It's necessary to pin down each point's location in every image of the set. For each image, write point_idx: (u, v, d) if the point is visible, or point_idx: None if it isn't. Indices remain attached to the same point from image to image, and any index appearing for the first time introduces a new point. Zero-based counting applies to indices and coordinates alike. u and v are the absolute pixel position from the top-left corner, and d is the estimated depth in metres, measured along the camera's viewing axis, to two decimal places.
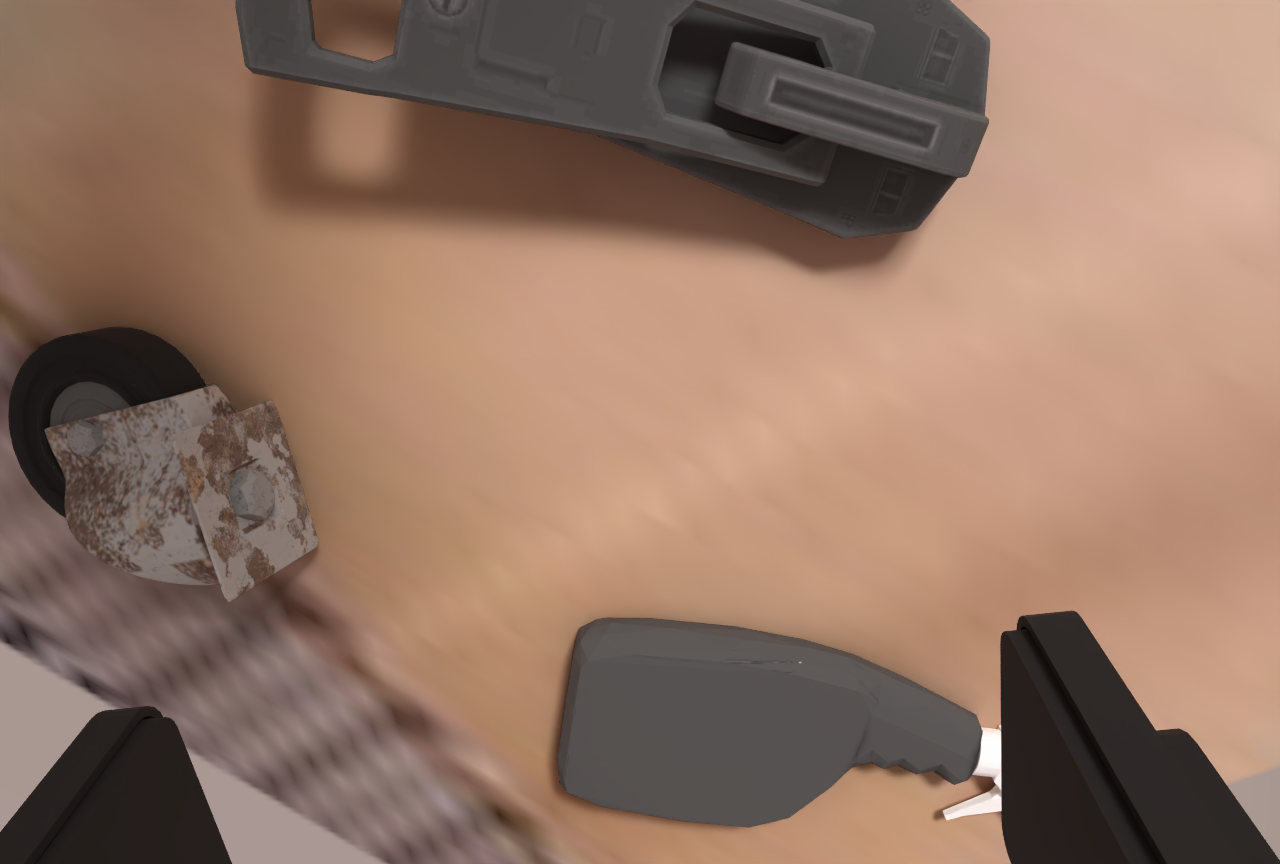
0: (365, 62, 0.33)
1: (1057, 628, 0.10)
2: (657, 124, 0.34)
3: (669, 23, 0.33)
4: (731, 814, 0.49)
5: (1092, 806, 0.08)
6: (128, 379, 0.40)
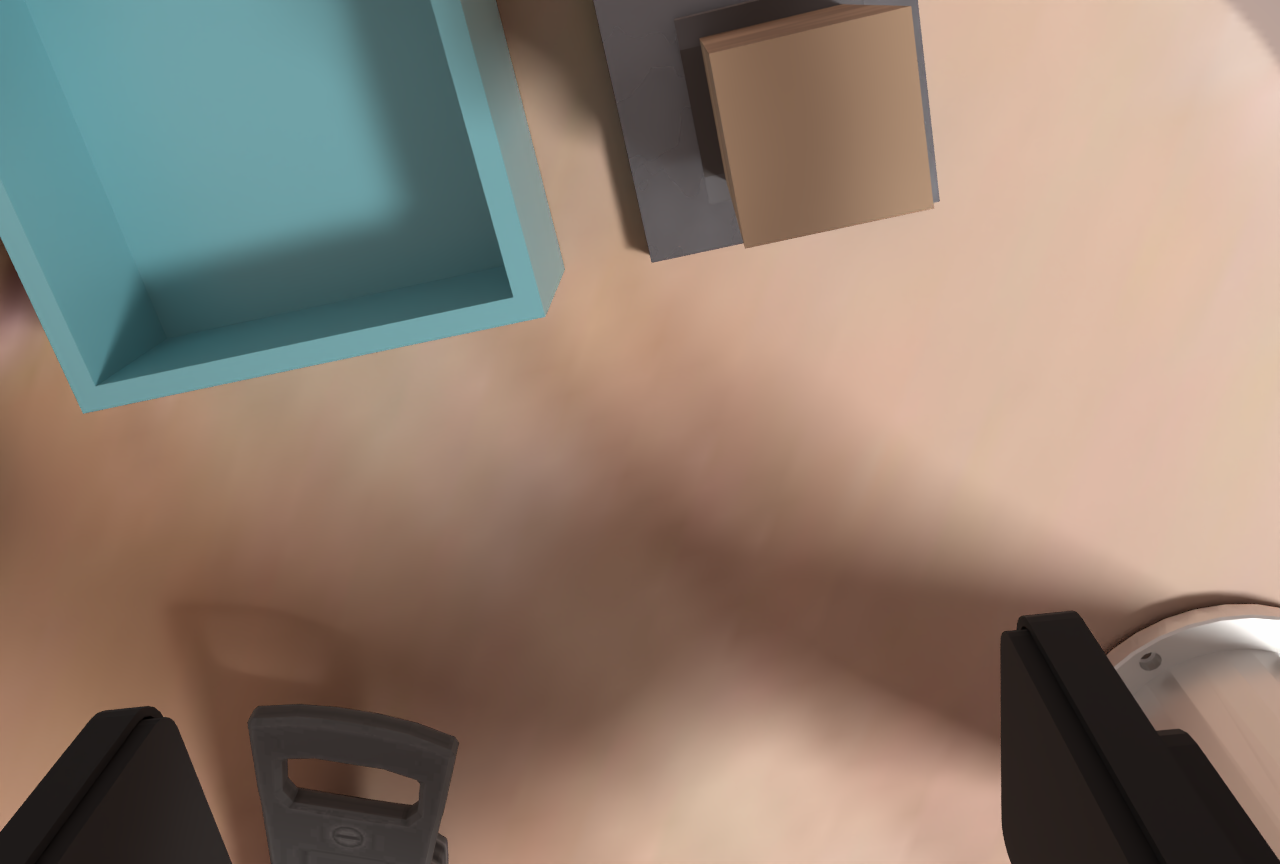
0: (282, 785, 0.39)
1: (1057, 628, 0.10)
2: None
3: None
4: None
5: (1092, 806, 0.08)
6: None
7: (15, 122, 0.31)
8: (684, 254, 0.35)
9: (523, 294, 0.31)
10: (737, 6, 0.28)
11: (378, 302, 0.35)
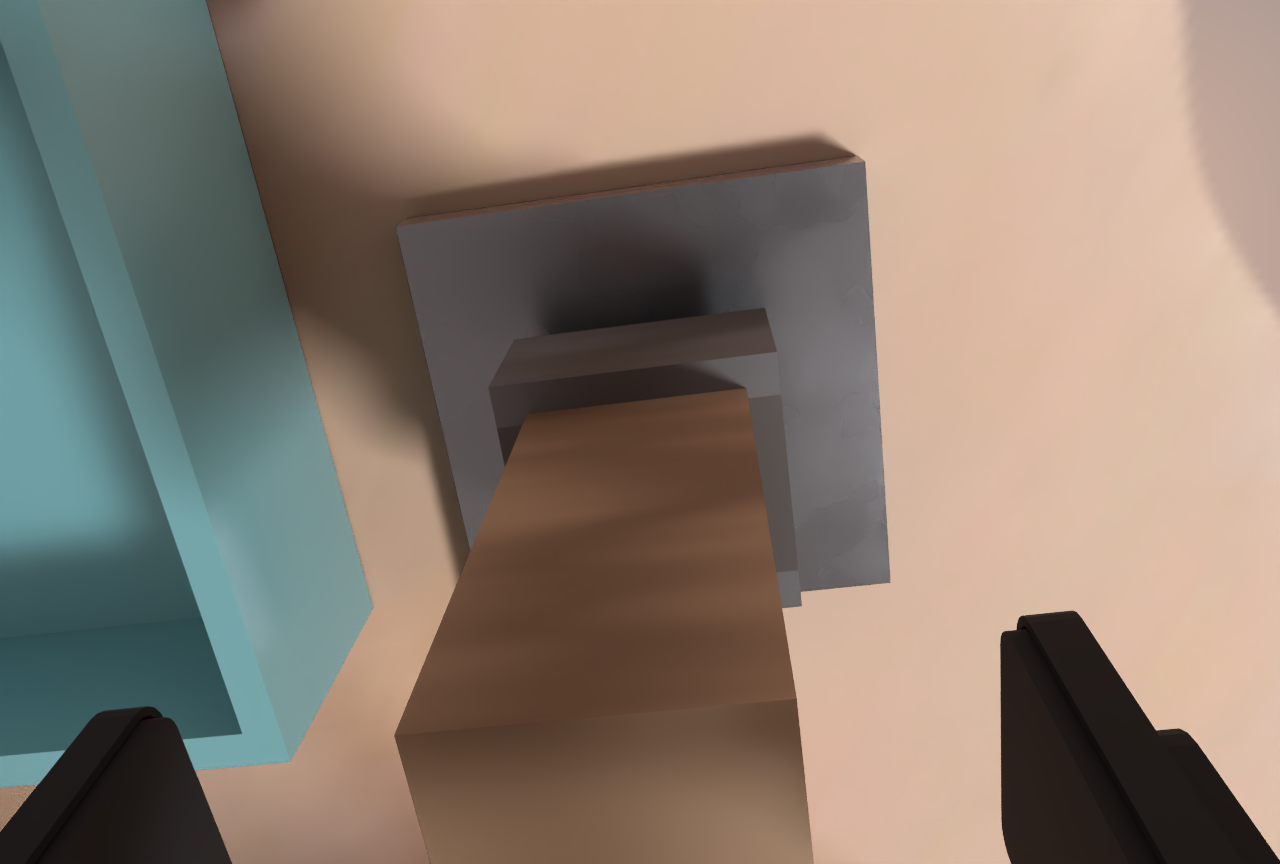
0: None
1: (1057, 628, 0.10)
2: None
3: None
4: None
5: (1092, 806, 0.08)
6: None
7: None
8: None
9: (257, 731, 0.21)
10: (586, 377, 0.18)
11: (89, 662, 0.24)
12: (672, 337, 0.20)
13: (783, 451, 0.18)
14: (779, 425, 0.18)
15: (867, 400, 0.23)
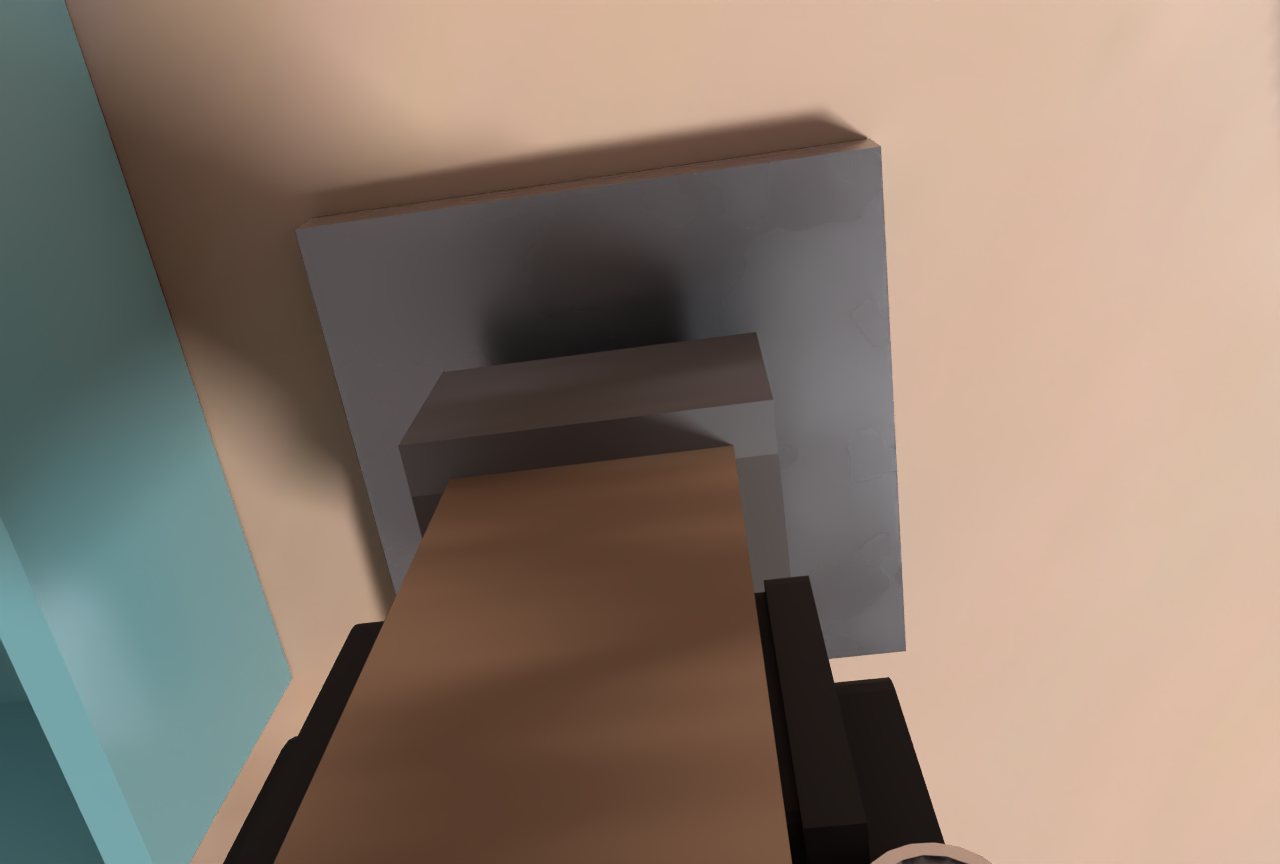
0: None
1: (786, 589, 0.11)
2: None
3: None
4: None
5: None
6: None
7: None
8: None
9: None
10: (525, 432, 0.14)
11: None
12: (639, 374, 0.15)
13: (781, 524, 0.14)
14: (776, 492, 0.14)
15: (880, 438, 0.19)
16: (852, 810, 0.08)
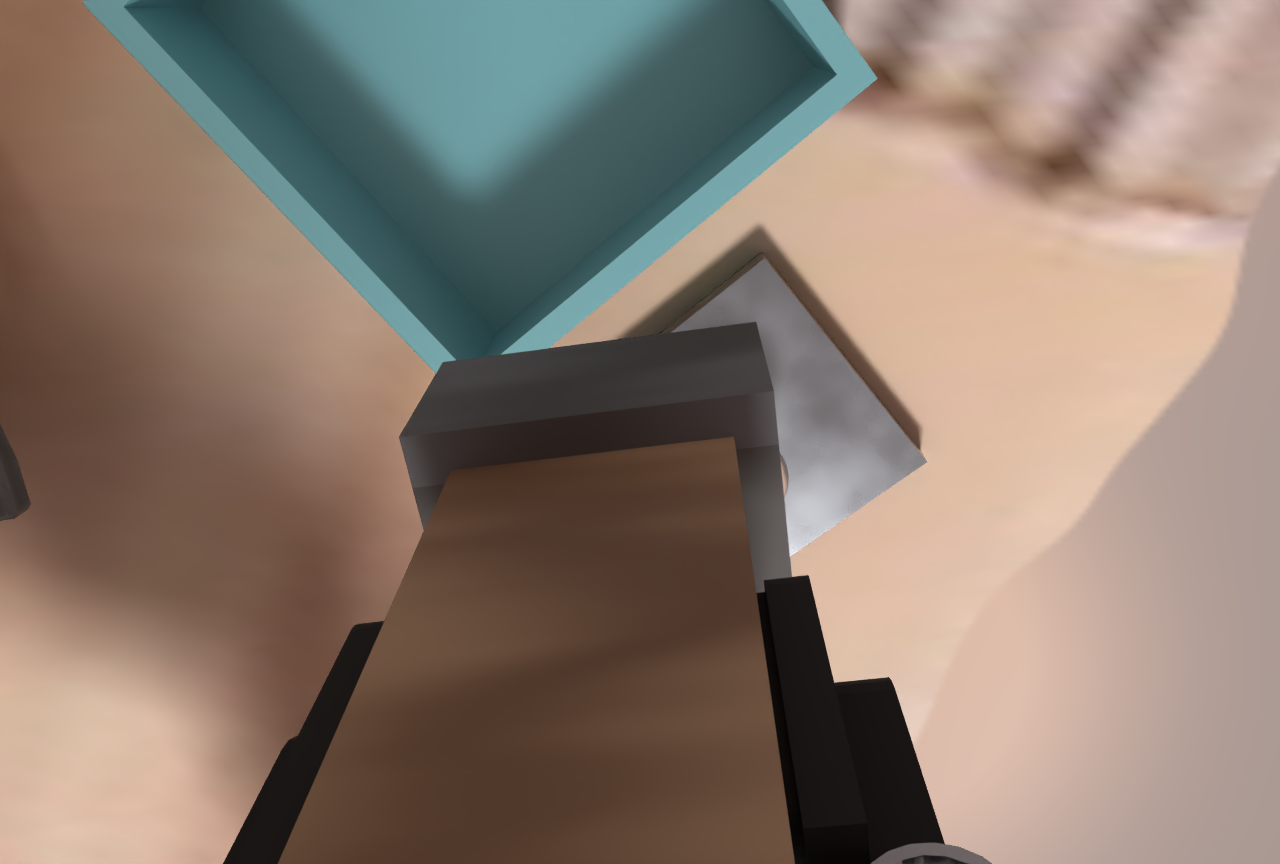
0: None
1: (786, 589, 0.11)
2: None
3: None
4: None
5: None
6: None
7: None
8: None
9: None
10: (526, 423, 0.14)
11: (379, 225, 0.34)
12: (639, 364, 0.15)
13: (781, 515, 0.14)
14: (776, 483, 0.14)
15: (809, 535, 0.39)
16: (851, 809, 0.08)
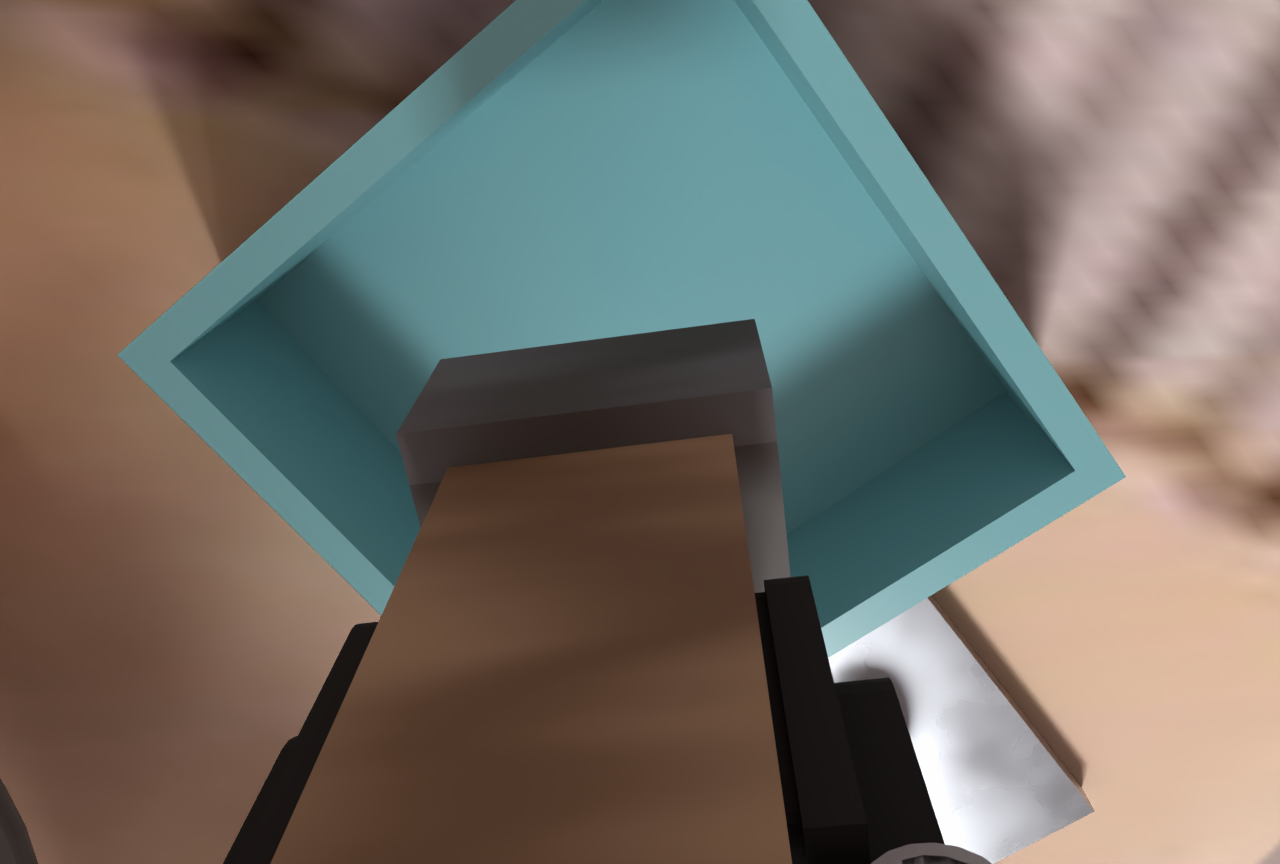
0: None
1: (786, 589, 0.11)
2: None
3: None
4: None
5: None
6: None
7: (467, 109, 0.21)
8: None
9: None
10: (523, 420, 0.14)
11: None
12: (637, 361, 0.15)
13: (780, 512, 0.14)
14: (775, 480, 0.14)
15: None
16: (852, 809, 0.08)
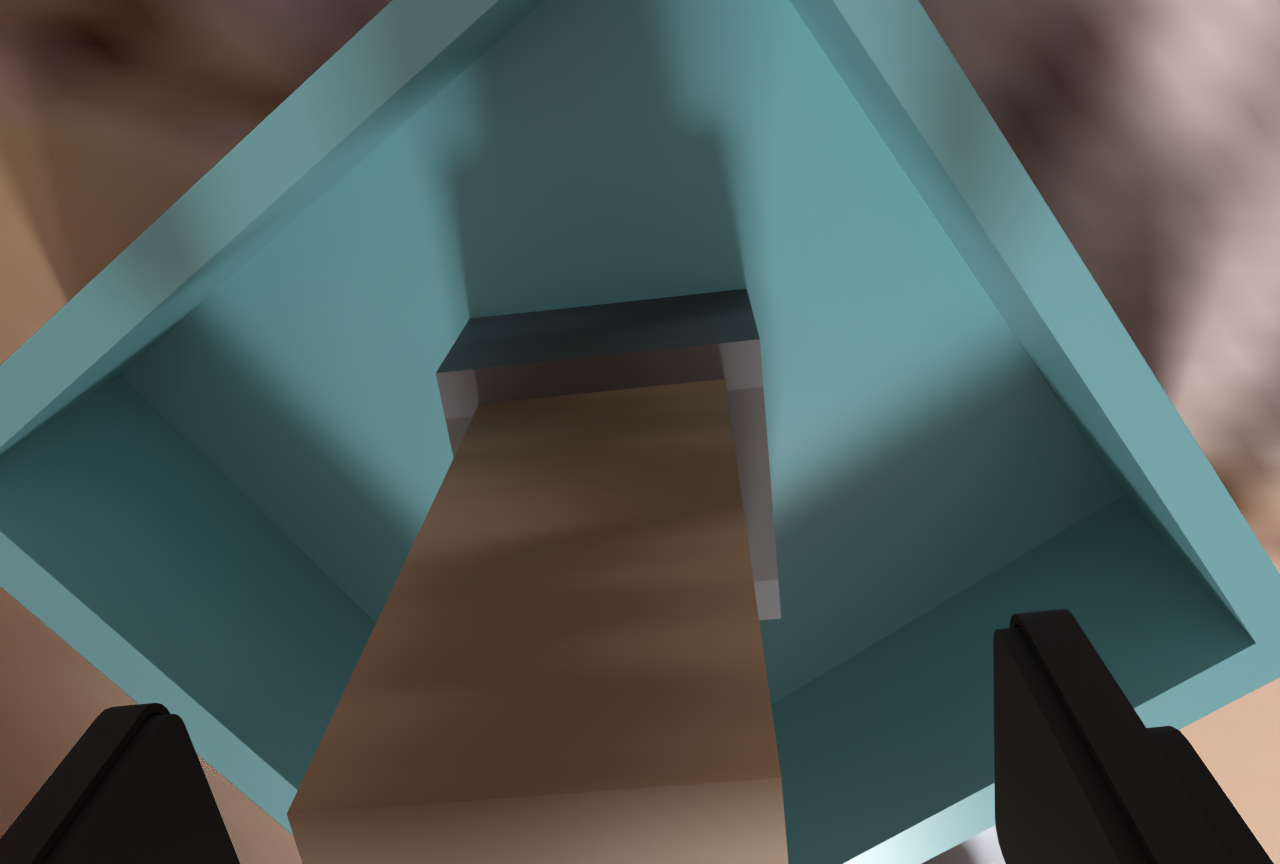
0: None
1: (1049, 626, 0.10)
2: None
3: None
4: None
5: (1083, 802, 0.08)
6: None
7: (379, 124, 0.15)
8: None
9: None
10: (546, 363, 0.16)
11: None
12: (644, 320, 0.18)
13: (764, 449, 0.17)
14: (761, 421, 0.16)
15: None
16: None
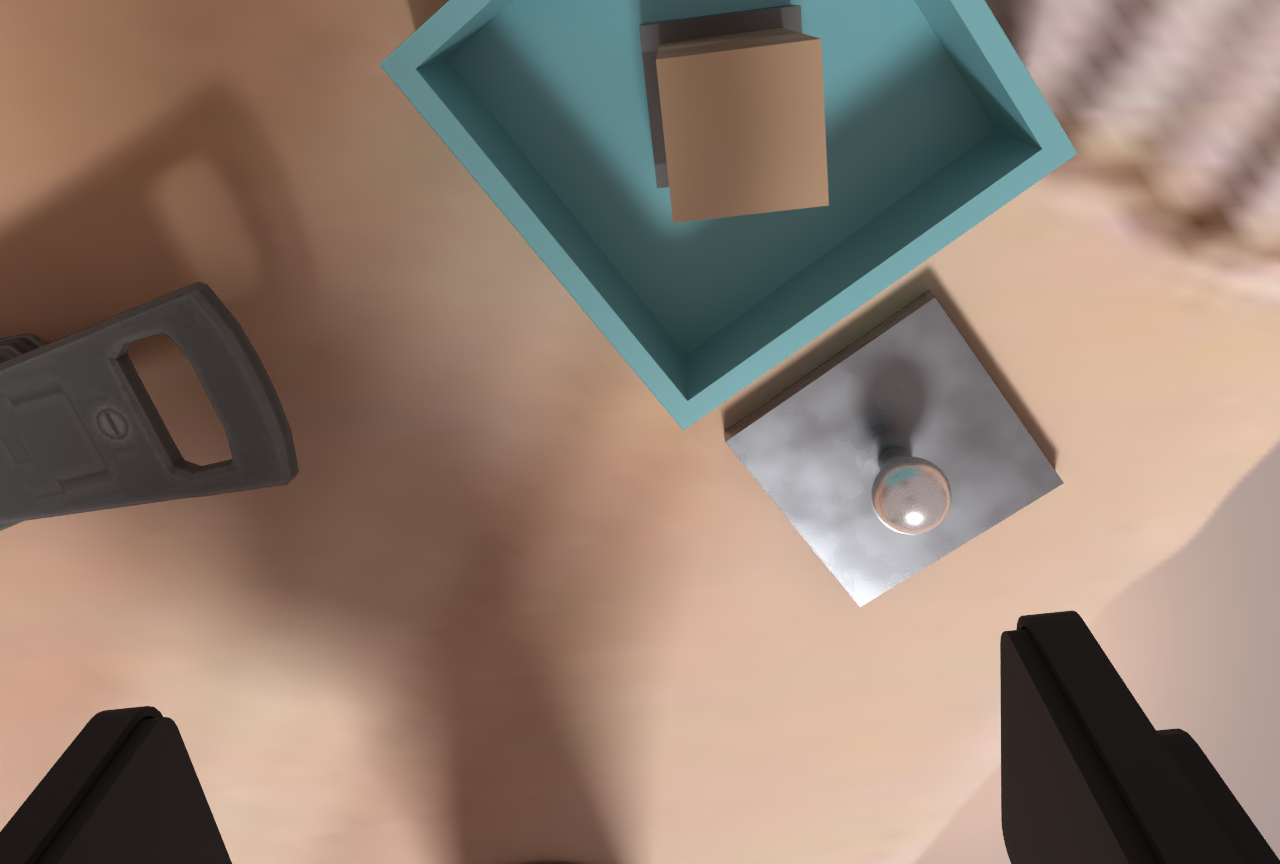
0: (128, 341, 0.36)
1: (1057, 628, 0.10)
2: None
3: None
4: None
5: (1092, 806, 0.08)
6: None
7: None
8: (743, 462, 0.42)
9: (693, 407, 0.36)
10: (694, 20, 0.33)
11: (598, 259, 0.37)
12: (738, 12, 0.34)
13: None
14: None
15: (950, 545, 0.43)
16: None
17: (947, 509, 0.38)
